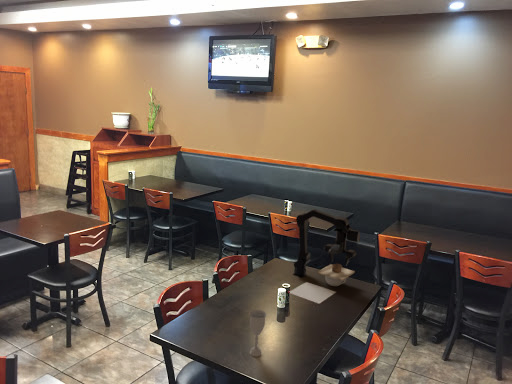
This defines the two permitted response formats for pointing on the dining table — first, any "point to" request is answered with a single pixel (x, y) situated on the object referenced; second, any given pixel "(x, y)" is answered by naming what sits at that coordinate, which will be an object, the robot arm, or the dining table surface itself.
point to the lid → (336, 271)
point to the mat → (312, 292)
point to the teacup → (334, 281)
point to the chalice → (256, 328)
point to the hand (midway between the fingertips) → (338, 264)
